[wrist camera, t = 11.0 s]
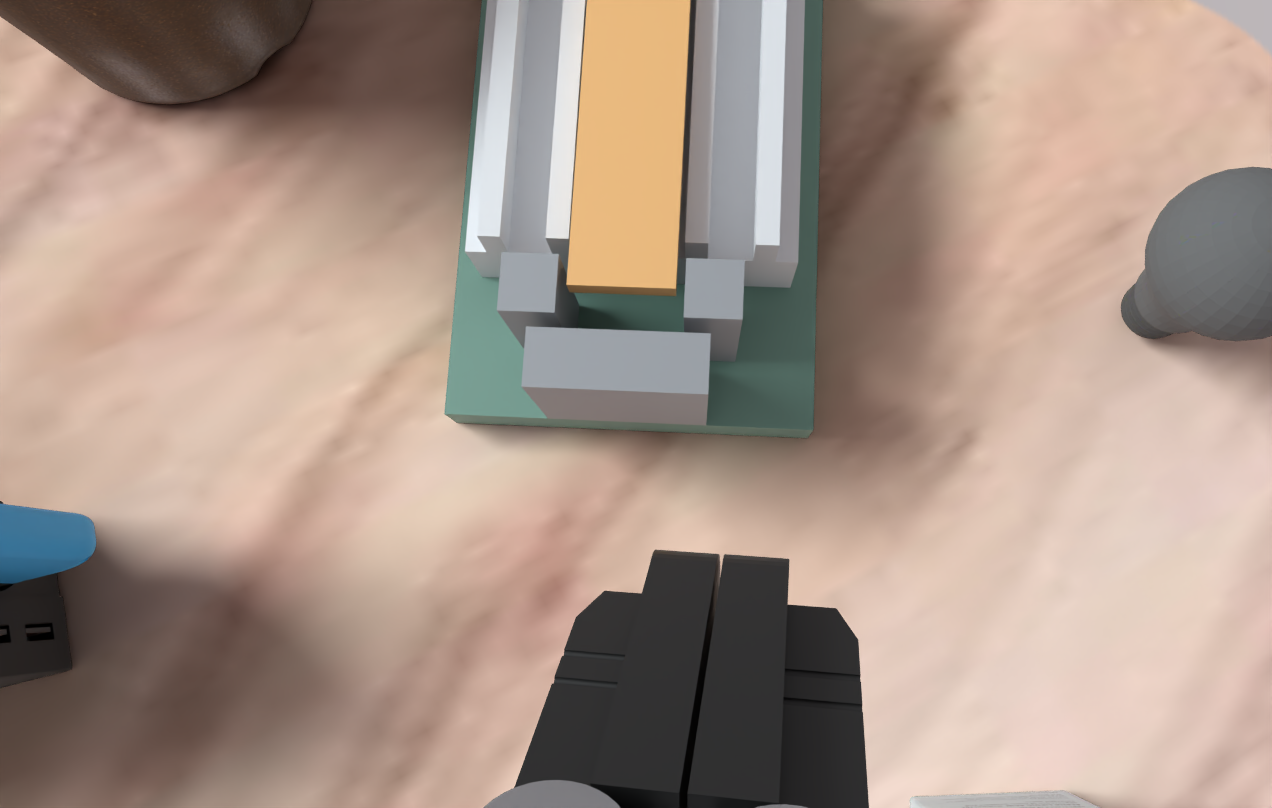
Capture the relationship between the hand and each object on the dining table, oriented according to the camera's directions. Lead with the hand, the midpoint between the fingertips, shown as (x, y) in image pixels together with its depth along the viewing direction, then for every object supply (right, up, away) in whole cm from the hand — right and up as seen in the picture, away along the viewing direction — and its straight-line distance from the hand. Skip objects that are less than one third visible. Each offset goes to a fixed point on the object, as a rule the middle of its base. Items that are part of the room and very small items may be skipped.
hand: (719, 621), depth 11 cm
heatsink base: (-1, +12, +31) cm, 33 cm away
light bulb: (+19, +6, +28) cm, 35 cm away
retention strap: (-1, +13, +24) cm, 27 cm away
